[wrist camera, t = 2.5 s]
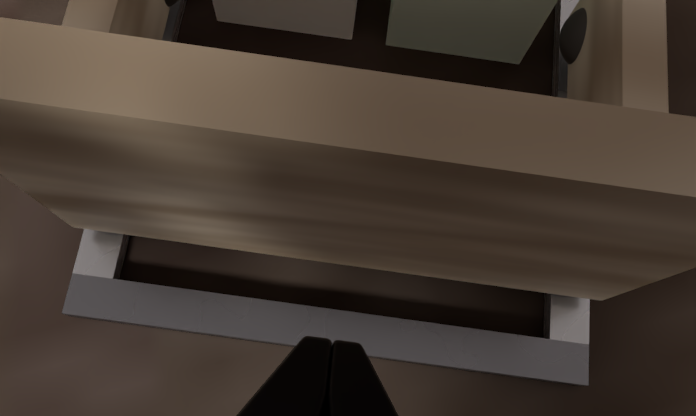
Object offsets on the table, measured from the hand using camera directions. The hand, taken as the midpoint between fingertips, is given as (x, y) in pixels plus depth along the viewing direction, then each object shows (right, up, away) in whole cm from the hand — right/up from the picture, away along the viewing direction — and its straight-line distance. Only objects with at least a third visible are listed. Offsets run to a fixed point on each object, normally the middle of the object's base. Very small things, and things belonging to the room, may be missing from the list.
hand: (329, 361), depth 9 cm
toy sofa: (0, +4, +8) cm, 10 cm away
